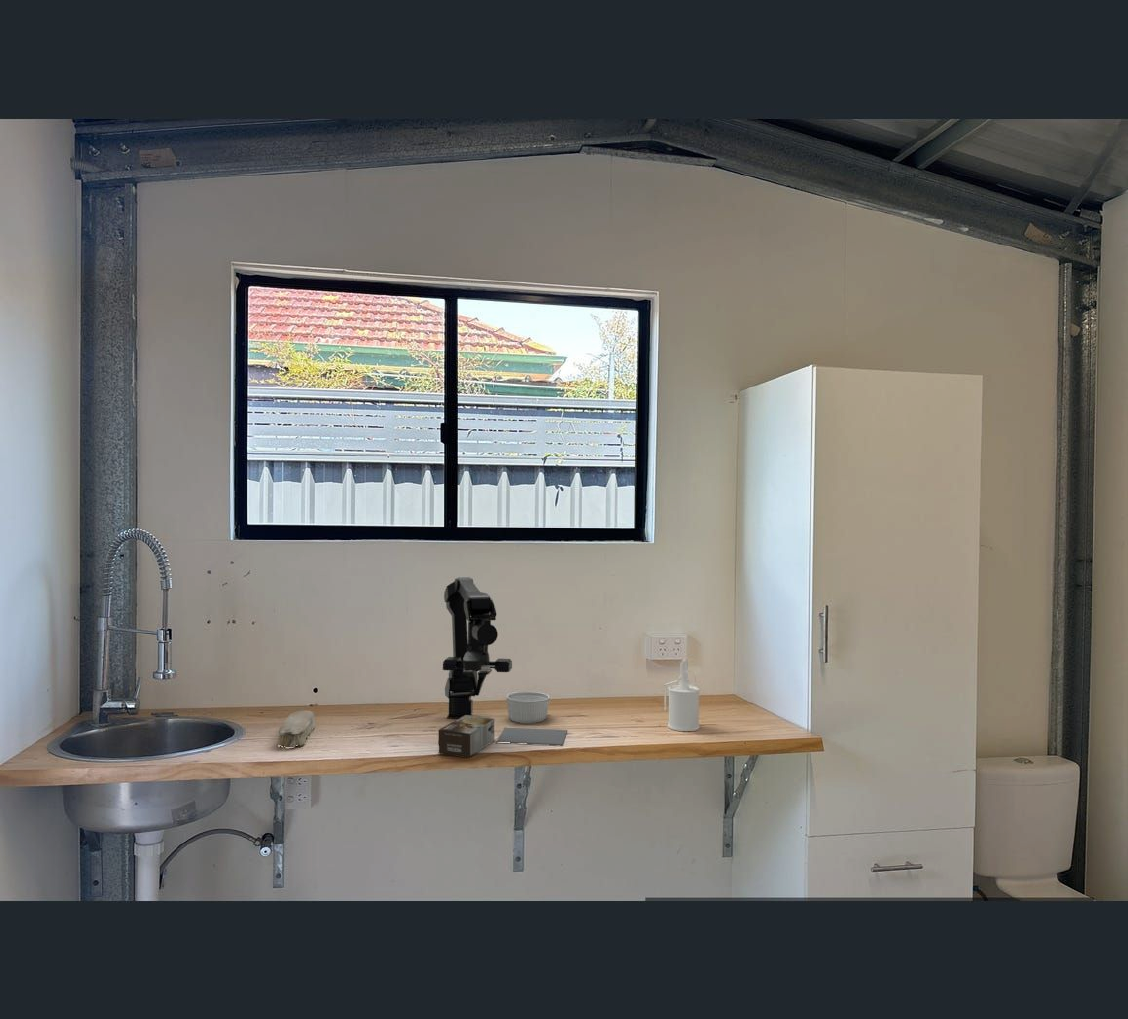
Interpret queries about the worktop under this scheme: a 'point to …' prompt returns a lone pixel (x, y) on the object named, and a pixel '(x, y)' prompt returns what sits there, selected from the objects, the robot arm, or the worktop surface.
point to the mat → (532, 736)
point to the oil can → (683, 702)
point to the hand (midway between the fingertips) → (477, 695)
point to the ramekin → (527, 706)
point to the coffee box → (466, 736)
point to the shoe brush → (296, 728)
